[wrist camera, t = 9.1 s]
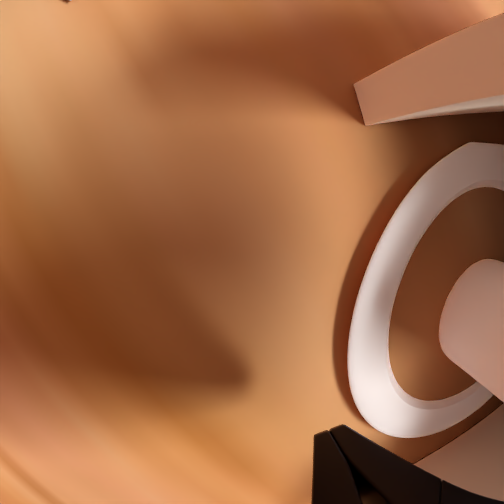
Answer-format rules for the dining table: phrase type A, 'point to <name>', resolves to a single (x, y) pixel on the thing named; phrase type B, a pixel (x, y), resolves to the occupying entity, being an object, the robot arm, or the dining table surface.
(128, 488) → the dining table surface
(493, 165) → the white ring with cylinder
